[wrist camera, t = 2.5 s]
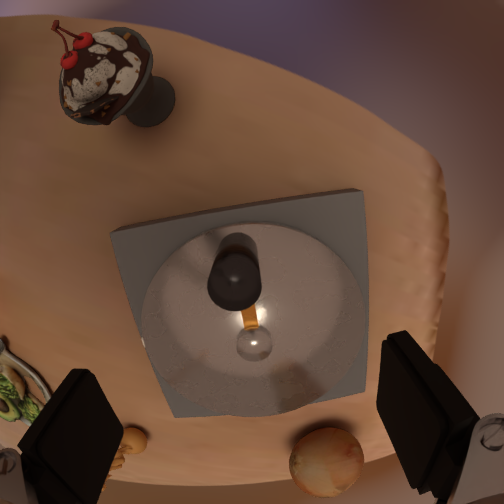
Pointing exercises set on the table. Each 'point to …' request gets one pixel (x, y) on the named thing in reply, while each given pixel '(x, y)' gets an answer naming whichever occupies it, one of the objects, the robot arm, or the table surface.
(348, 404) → the table surface
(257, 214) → the instrument base
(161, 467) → the table surface
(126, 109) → the sundae
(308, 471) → the onion
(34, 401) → the avocado toast plate
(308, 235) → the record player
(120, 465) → the figurine
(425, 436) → the robot arm
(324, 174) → the table surface
